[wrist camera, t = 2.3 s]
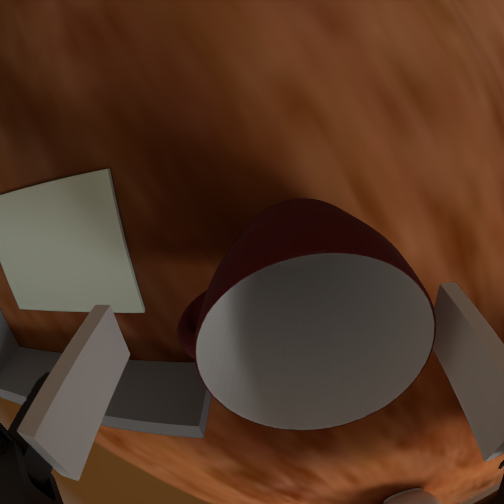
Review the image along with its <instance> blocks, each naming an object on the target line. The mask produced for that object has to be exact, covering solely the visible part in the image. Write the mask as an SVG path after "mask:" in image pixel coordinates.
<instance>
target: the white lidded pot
mask: <svg viewBox="0 0 504 504" xmlns="http://www.w3.org/2000/svg"><path fill="white" fill-rule="evenodd" d="M384 504H440V502H439V500H438V499H437V498H436V497H435V496H434V495H433V494H431V493H429V492H427V491H423V489H422V488H413V489H409V490H405V491H402V492H399V493H397V494H394V495H392V496H390V497H388V498H387V499H385V500H384Z"/></svg>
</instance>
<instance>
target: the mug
mask: <svg viewBox="0 0 504 504" xmlns="http://www.w3.org/2000/svg"><path fill="white" fill-rule="evenodd" d="M177 334H178V339H179V342H180V344H181V346H182V348H183V349H184V350H185V351H186V352H187V353H188V354H189V355H190V356H191V357H192V358H194V360H195V365H196V369H197V372H198V374H199V377H200V379H201V381H202V383H203V384H204V386H205V387H206V389H207V390H208V391H209V393H210V394H211V395H212V396H213V397H214V398H215V399H216V400H217V401H218V402H219V403H220V404H222V405H223V406H224V407H225V408H227V409H228V410H230V411H231V412H233V413H235V414H236V415H238V416H240V417H242V418H244V419H246V420H249V421H251V422H254V423H257V424H260V425H263V426H267V427H272V428H277V429H284V430H299V431H306V430H320V429H327V428H333V427H337V426H341V425H345V424H348V423H352V422H354V421H357V420H360V419H362V418H365V417H367V416H369V415H371V414H373V413H375V412H377V411H379V410H380V409H382V408H384V407H385V406H387V405H388V404H390V403H391V402H393V401H394V400H395V399H396V398H398V397H399V396H400V395H401V394H402V393H403V392H405V391H406V390H407V389H408V388H409V387H410V385H411V384H412V383H413V382H414V381H415V380H416V378H417V377H418V376H419V374H420V373H421V371H422V370H423V368H424V367H425V365H426V363H427V361H428V359H429V357H430V354H431V352H432V349H433V345H434V342H435V335H436V317H435V312H434V307H433V305H432V302H431V299H430V297H429V295H428V293H427V291H426V289H425V288H424V286H423V285H422V283H421V282H420V280H419V279H418V277H417V275H416V274H415V273H414V271H413V270H412V268H411V267H410V266H409V264H408V263H407V262H406V260H405V259H404V258H403V256H402V255H401V254H400V253H399V251H398V250H397V249H396V248H395V247H394V246H393V245H392V244H391V243H390V242H389V241H388V240H387V239H386V238H385V237H384V236H382V235H381V234H380V233H378V232H377V231H376V230H374V229H373V228H372V227H370V226H369V225H367V224H365V223H364V222H362V221H360V220H359V219H357V218H355V217H353V216H352V215H350V214H348V213H347V212H345V211H343V210H341V209H340V208H338V207H336V206H334V205H332V204H329V203H327V202H324V201H320V200H315V199H292V200H287V201H284V202H281V203H278V204H276V205H273V206H271V207H270V208H268V209H266V210H265V211H263V212H262V213H261V214H259V215H258V216H257V217H256V218H255V219H254V220H253V221H252V222H251V223H250V224H249V225H248V227H247V228H246V229H245V230H244V232H243V233H242V234H241V236H240V237H239V238H238V239H237V241H236V242H235V243H234V245H233V246H232V247H231V249H230V250H229V251H228V253H227V254H226V255H225V257H224V258H223V260H222V261H221V263H220V264H219V266H218V268H217V270H216V272H215V274H214V276H213V278H212V280H211V282H210V285H209V287H208V290H207V291H205V292H204V293H202V294H201V295H199V296H198V297H197V298H196V299H195V300H193V301H192V302H191V303H190V304H189V306H188V307H187V308H186V309H185V311H184V312H183V314H182V316H181V318H180V321H179V324H178V328H177Z"/></svg>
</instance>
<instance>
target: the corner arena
mask: <svg viewBox="0 0 504 504" xmlns="http://www.w3.org/2000/svg"><path fill="white" fill-rule="evenodd" d="M0 262H1V265H2V267H3V270H4V273H5V275H6V278H7V280H8V283H9V285H10V288H11V290H12V292H13V295H14V297H15V299H16V302H17V304H18V306H19V308H20V309H28V310H47V311H71V312H91V310H92V309H93V307H94V306H95V305H111V308H112V310H113V313H144V312H145V308H144V304H143V301H142V298H141V295H140V291H139V288H138V284H137V281H136V277H135V274H134V270H133V267H132V263H131V259H130V256H129V252H128V248H127V244H126V240H125V236H124V232H123V228H122V223H121V219H120V215H119V210H118V206H117V201H116V196H115V192H114V187H113V182H112V176H111V171H110V168H108V169H103V170H98V171H93V172H89V173H84V174H79V175H75V176H71V177H66V178H62V179H58V180H54V181H49V182H45V183H42V184H38V185H34V186H30V187H26V188H23V189H19V190H16V191H12V192H9V193H5V194H2V195H0ZM61 355H62V353H58V352H51V351H44V350H37V349H31V348H25V347H19V345H18V343H17V341H16V339H15V337H14V336H13V334H12V332H11V330H10V328H9V326H8V324H7V322H6V320H5V318H4V316H3V314H2V312H1V310H0V397H2V398H4V399H7V400H10V401H13V402H16V403H19V404H22V405H23V403H24V401H26V398H27V396H28V395H29V393H31V390H32V388H33V386H34V385H35V383H36V381H37V380H38V379H39V378H40V377H41V376H43V375H44V374H45V373H46V372H51V371H52V369H53V368H54V366H55V364H56V363H57V361H58V360H59V358H60V356H61ZM211 396H212V395H211V394H210V393H209V391H208V390H207V389H206V387H205V386H204V384H203V383H202V381H201V379H200V377H199V374H198V372H197V369H196V365H195V362H162V361H142V360H128V361H127V363H126V366H125V368H124V370H123V372H122V375H121V377H120V379H119V381H118V384H117V386H116V388H115V391H114V393H113V395H112V398H111V400H110V402H109V405H108V407H107V410H106V412H105V414H104V417H103V419H102V422H101V424H100V425H103V426H108V427H114V428H119V429H125V430H132V431H138V432H146V433H153V434H162V435H171V436H182V437H194V438H204V434H205V428H206V423H207V418H208V412H209V407H210V401H211Z"/></svg>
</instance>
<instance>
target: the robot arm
mask: <svg viewBox="0 0 504 504" xmlns="http://www.w3.org/2000/svg"><path fill="white" fill-rule="evenodd" d="M434 312H435V317H436V335H435V342H434V345H433V350H434V352H435V354H436V356H437V358H438V360H439V362H440V364H441V366H442V368H443V370H444V371H445V373H446V375H447V377H448V379H449V382H450V384H451V386H452V388H453V390H454V392H455V394H456V396H457V398H458V400H459V402H460V405H461V407H462V409H463V411H464V413H465V416H466V418H467V420H468V422H469V425H470V427H471V429H472V432H473V434H474V436H475V439H476V441H477V444H478V446H479V449H480V451H481V454H482V456H483V459H484V462H486V461H489V460H491V459H493V458H495V457H498V456H500V455H502V454H503V453H504V344H503V343H502V341H501V340H500V338H499V337H498V336H497V334H496V333H495V331H494V330H493V329H492V327H491V326H490V325H489V323H488V322H487V321H486V320H485V318H484V317H483V316H482V314H481V313H480V312H479V310H478V309H477V308H476V307H475V305H474V304H473V303H472V302H471V300H470V299H469V298H468V297H467V296H466V294H465V293H464V292H463V291H462V289H461V288H460V287H459V286H458V285H457V283H456V282H451V283H444V284H440V287H439V291H438V295H437V300H436V304H435V308H434ZM129 357H130V352H129V350H128V348H127V345H126V343H125V340H124V338H123V336H122V333H121V331H120V328H119V326H118V323H117V321H116V318H115V316H114V313H113V310H112V308H111V305H95V306H94V307H93V309H92V310H91V312H90V313H89V314H88V316H87V317H86V319H85V320H84V322H83V323H82V325H81V326H80V328H79V329H78V331H77V332H76V333H75V335H74V336H73V338H72V339H71V341H70V343H69V344H68V346H67V347H66V349H65V350H64V352H63V353H62V355H61V356H60V358H59V360H58V361H57V363H56V364H55V366H54V368H53V369H52V371H51V372H46V373H45V374H44V375H43V376H41V377H40V378H39V379H38V380H37V381H36V383H35V385H34V386H33V388H32V390H31V393H29V395H28V396H27V398H26V401H24V403H23V405H22V406H21V408H20V410H19V412H18V413H17V415H16V417H15V419H14V421H13V422H12V424H11V426H10V428H9V429H8V431H7V430H6V428H5V427H4V426H3V425H2V424H1V423H0V504H63V501H62V498H61V496H60V493H59V490H58V487H57V484H56V481H55V478H54V477H53V475H52V474H51V471H52V468H54V469H55V470H56V471H58V472H59V473H60V474H61V475H62V476H65V477H68V478H71V479H74V480H77V481H79V479H80V476H81V473H82V470H83V468H84V465H85V462H86V460H87V457H88V455H89V452H90V449H91V447H92V444H93V442H94V439H95V437H96V434H97V432H98V429H99V427H100V424H101V422H102V419H103V417H104V414H105V412H106V410H107V407H108V405H109V402H110V400H111V398H112V395H113V393H114V391H115V388H116V386H117V384H118V381H119V379H120V377H121V375H122V372H123V370H124V368H125V366H126V363H127V361H128V359H129ZM503 466H504V460H503V461H502V462H501V464H500V466H499V469H501V468H502V467H503ZM474 504H504V475H503V478H502V481H501V484H500V487H499V490H497V491H495V492H493V493H492V494H490V495H488V496H486V497H485V498H483V499H481V500H479V501H477V502H475V503H474Z"/></svg>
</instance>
